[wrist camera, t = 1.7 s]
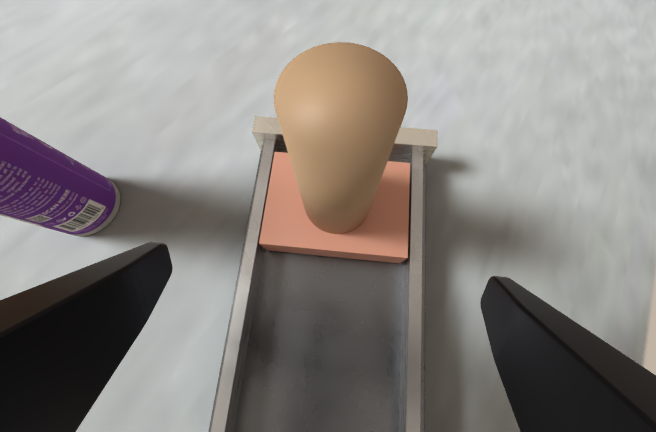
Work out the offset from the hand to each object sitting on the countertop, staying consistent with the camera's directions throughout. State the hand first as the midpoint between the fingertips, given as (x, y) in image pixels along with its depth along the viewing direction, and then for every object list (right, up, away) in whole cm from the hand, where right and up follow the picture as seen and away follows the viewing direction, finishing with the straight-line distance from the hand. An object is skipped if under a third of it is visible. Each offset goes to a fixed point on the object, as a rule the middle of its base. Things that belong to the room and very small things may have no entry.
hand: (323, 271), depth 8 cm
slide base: (0, -3, +12) cm, 12 cm away
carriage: (+1, +2, +12) cm, 12 cm away
